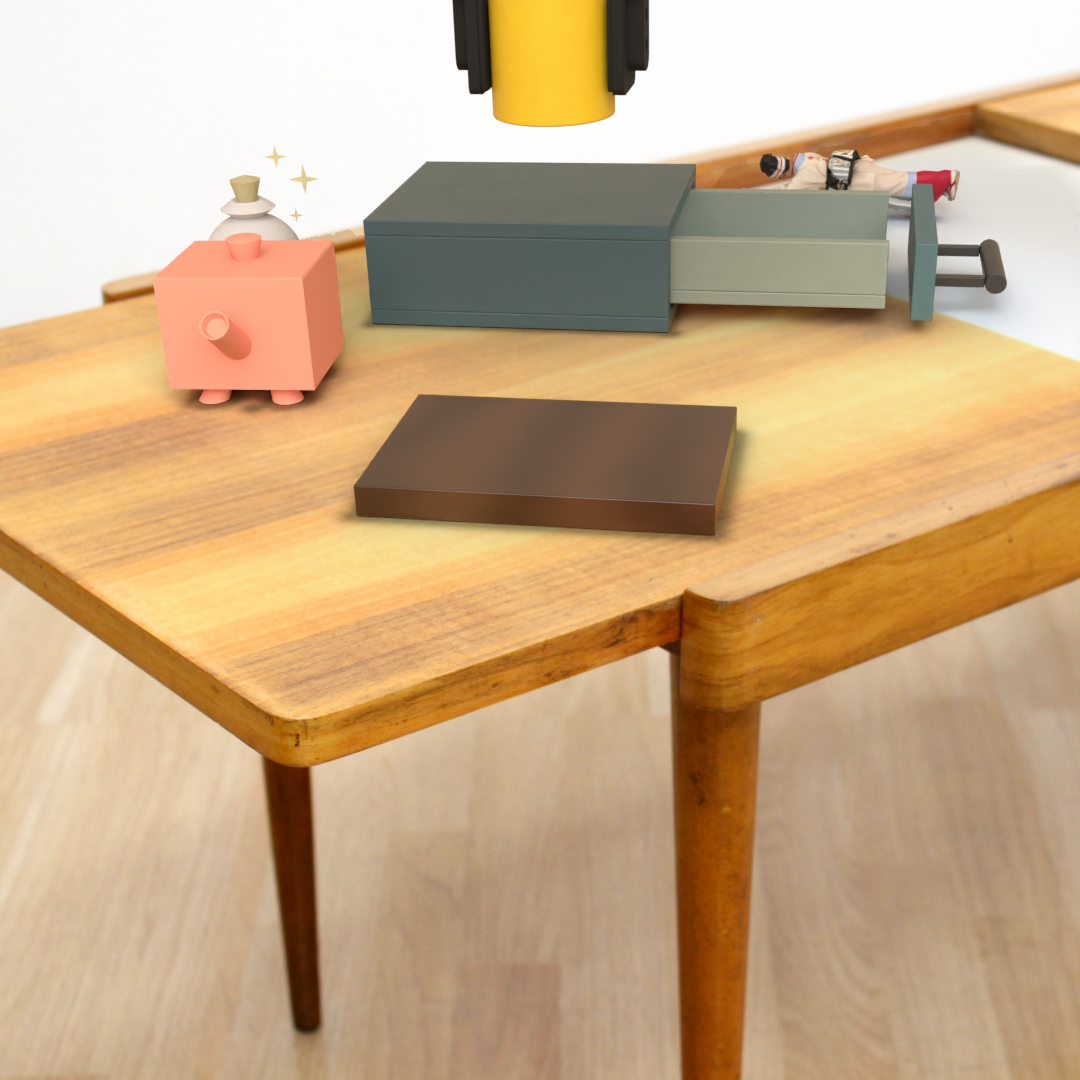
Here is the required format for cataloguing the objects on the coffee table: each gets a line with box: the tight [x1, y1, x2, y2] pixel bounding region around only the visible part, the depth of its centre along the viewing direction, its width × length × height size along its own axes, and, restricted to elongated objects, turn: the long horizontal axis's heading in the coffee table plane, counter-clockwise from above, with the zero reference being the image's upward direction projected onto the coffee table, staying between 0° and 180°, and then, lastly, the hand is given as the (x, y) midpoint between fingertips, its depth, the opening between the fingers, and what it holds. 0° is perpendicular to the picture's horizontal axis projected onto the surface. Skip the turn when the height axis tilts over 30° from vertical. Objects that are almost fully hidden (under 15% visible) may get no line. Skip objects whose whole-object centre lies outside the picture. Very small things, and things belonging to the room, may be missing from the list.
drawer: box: [670, 184, 1008, 322], centre depth 92 cm, size 21×13×4 cm, turn 79°
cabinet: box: [362, 160, 697, 333], centre depth 96 cm, size 18×14×6 cm
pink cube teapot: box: [152, 233, 345, 406], centre depth 82 cm, size 8×12×8 cm, turn 173°
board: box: [353, 393, 738, 536], centre depth 72 cm, size 16×11×2 cm
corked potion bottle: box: [207, 146, 318, 241], centre depth 94 cm, size 6×7×10 cm
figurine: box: [742, 149, 961, 213], centre depth 110 cm, size 6×8×15 cm
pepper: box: [488, 0, 616, 128], centre depth 65 cm, size 5×5×6 cm
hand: (553, 84), depth 65 cm, fingers closed on pepper, 5 cm apart
